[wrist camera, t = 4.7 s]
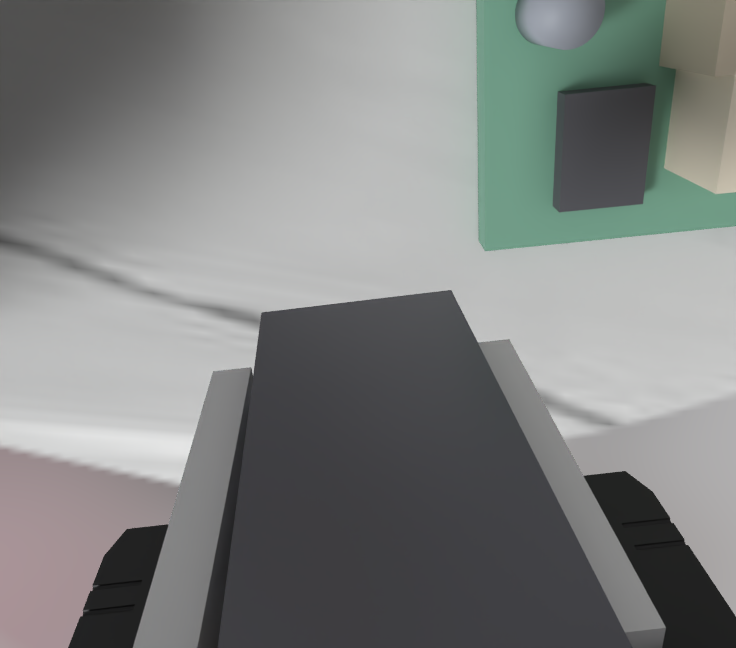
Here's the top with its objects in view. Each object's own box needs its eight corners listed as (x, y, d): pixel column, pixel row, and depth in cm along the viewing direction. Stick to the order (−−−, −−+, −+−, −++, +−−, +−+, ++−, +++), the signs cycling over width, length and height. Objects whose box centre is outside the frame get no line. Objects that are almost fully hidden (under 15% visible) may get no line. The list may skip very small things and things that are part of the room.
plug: (270, 465, 15) (210, 1322, 5) (240, 314, 13) (63, 1206, 3) (455, 441, 15) (726, 1226, 5) (450, 290, 13) (846, 1069, 4)
